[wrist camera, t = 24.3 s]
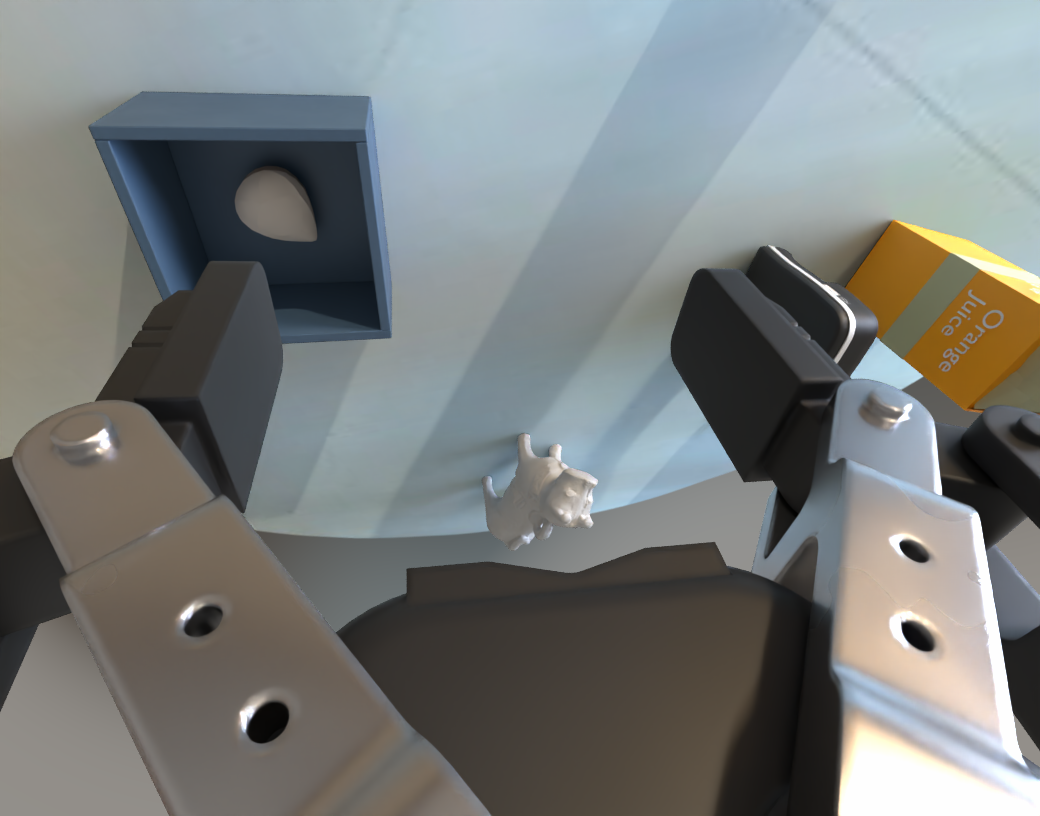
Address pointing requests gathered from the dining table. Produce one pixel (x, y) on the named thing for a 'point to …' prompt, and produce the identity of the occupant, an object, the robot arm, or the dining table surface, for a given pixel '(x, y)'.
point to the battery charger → (816, 306)
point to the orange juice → (955, 315)
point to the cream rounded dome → (276, 205)
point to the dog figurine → (538, 498)
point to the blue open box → (212, 190)
